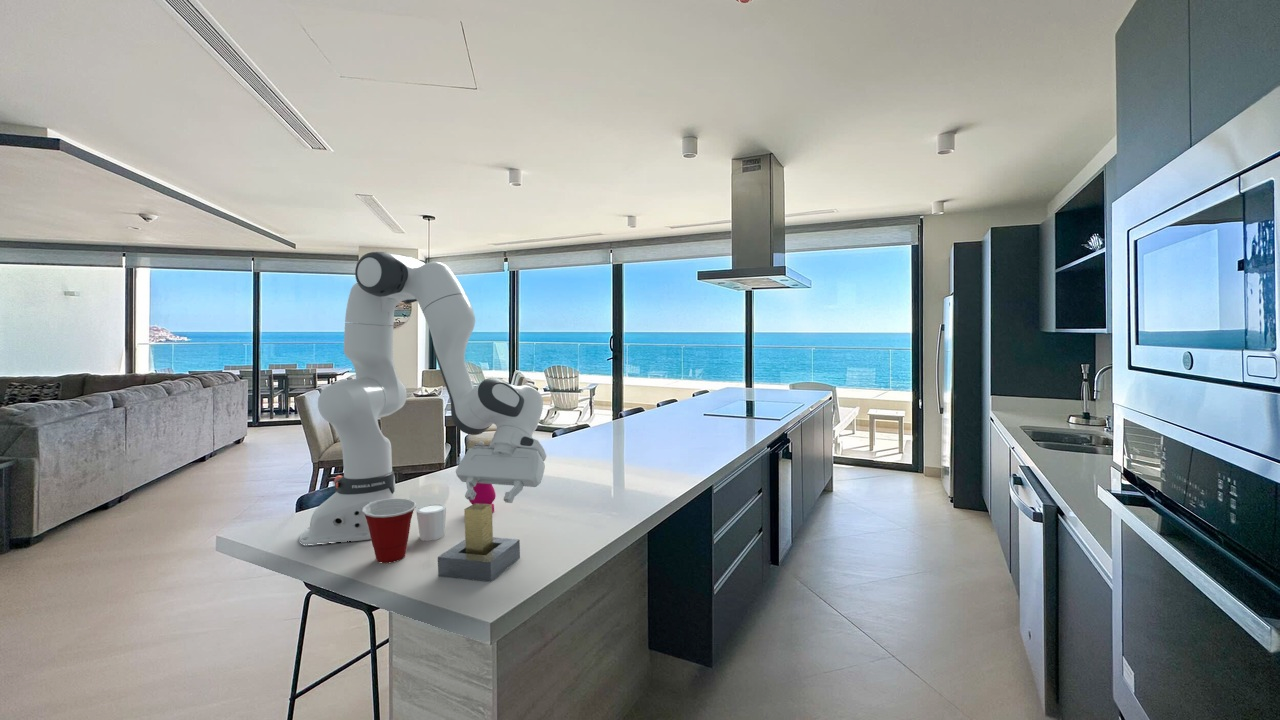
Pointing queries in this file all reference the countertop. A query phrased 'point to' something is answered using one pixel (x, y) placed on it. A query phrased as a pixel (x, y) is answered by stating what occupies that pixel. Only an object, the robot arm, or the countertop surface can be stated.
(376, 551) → the plastic cup
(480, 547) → the brass post
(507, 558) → the block
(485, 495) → the pepper mill
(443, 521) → the white cylinder
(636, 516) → the countertop surface
